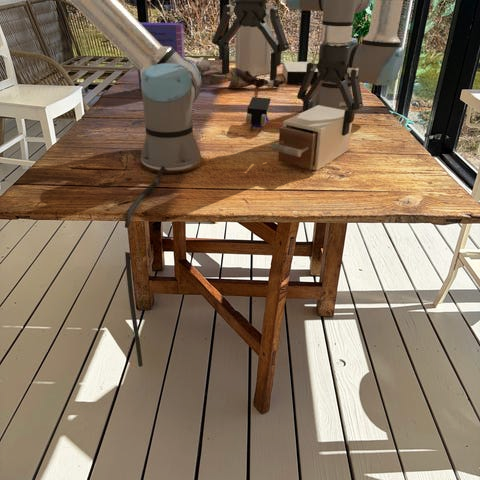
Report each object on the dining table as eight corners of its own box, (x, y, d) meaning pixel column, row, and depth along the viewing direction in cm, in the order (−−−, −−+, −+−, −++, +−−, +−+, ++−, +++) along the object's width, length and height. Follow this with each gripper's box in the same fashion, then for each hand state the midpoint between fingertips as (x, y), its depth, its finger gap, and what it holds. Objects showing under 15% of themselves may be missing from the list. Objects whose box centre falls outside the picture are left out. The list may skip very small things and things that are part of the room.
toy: (175, 82, 199) (174, 65, 195) (149, 71, 216) (148, 55, 212) (224, 75, 210) (224, 59, 207) (196, 65, 228) (196, 50, 224)
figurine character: (266, 138, 144) (270, 118, 156) (267, 114, 140) (271, 95, 151) (244, 136, 145) (250, 117, 157) (244, 113, 140) (250, 94, 152)
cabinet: (317, 170, 120) (321, 129, 115) (280, 160, 126) (283, 120, 120) (348, 149, 133) (353, 111, 128) (314, 141, 138) (318, 105, 133)
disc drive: (287, 84, 198) (287, 71, 196) (281, 72, 218) (282, 61, 215) (329, 84, 199) (330, 72, 196) (320, 72, 218) (321, 61, 216)
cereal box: (185, 88, 190) (183, 22, 177) (183, 91, 186) (180, 24, 173) (142, 87, 190) (136, 21, 178) (139, 90, 186) (133, 23, 174)
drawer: (299, 176, 114) (302, 141, 110) (266, 167, 119) (267, 133, 115) (340, 150, 130) (345, 118, 126) (310, 142, 135) (313, 111, 130)
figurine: (210, 87, 179) (288, 95, 182) (212, 65, 176) (291, 73, 180) (208, 84, 201) (278, 91, 205) (210, 64, 198) (280, 71, 202)
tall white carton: (273, 76, 210) (276, 6, 196) (239, 77, 209) (240, 6, 194) (266, 67, 226) (268, 2, 212) (235, 67, 225) (235, 1, 210)
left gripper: (306, -15, 111) (299, 78, 122) (212, -19, 120) (213, 68, 131) (295, -14, 105) (288, 85, 116) (197, -18, 114) (200, 73, 125)
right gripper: (385, 46, 115) (371, 135, 126) (302, 36, 127) (295, 118, 138) (373, 50, 110) (360, 142, 121) (287, 40, 121) (282, 125, 133)
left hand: (248, 76), depth 124 cm, fingers open, 13 cm apart
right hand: (325, 129), depth 130 cm, fingers closed on cabinet, 11 cm apart
